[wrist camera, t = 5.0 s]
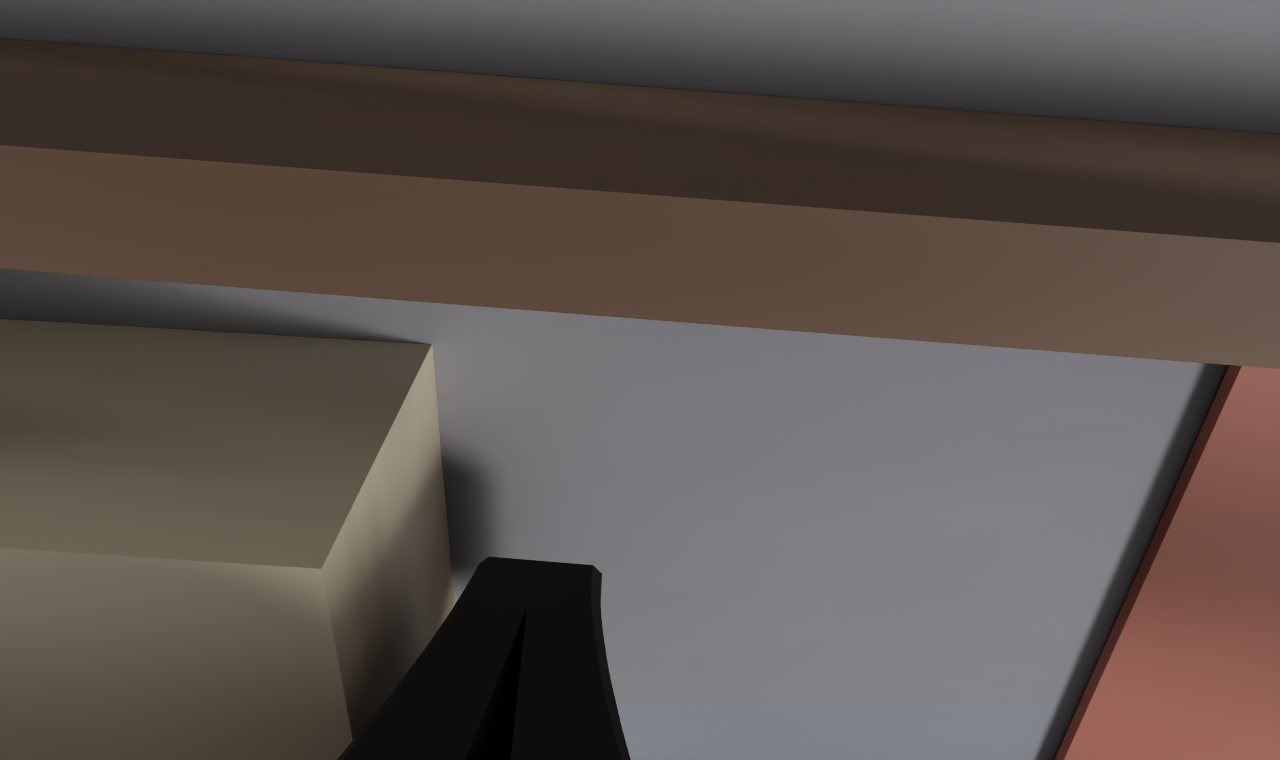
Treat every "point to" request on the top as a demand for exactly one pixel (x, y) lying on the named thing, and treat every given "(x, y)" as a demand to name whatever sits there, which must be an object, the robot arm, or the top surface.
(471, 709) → the robot arm
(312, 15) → the top surface
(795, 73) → the top surface
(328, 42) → the top surface
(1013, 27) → the top surface
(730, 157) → the channel
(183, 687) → the birch block
